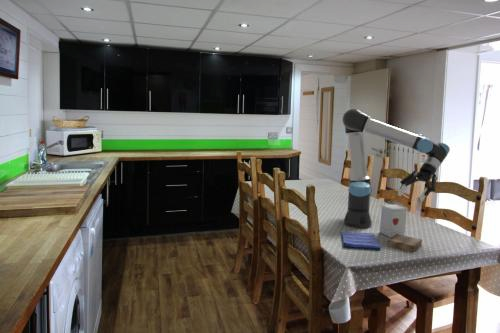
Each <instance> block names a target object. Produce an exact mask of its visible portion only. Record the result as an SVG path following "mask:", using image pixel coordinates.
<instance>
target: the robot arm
mask: <svg viewBox="0 0 500 333" xmlns="http://www.w3.org/2000/svg"><path fill="white" fill-rule="evenodd" d="M342 123H343V126H344V131H345V135H347V136H348V142H349V143H348V144H349V155H350V165H351V178H349V185H348V197H347V198H348V199H347V211H346V212H345V216H344V218H343V224H344V225H345V226H348V227H349V228H355V229H368V228H371V227H372V223H373V222H372V221H373V220H372V217H371V213H370V205H371V204H370V203H371V202H370V201H371V196H372V193H373V188H372V183H371V181H372V180H371V177H370V176H369V174H368V169H367V160H366V159H367V157H366V144H365V133H368V134H371V135H374V136H377V137H378V138H382V139H385V140H387V141H389V142H393V143H396V144H398V145H401V146H403V147H407V148H410V149H412V150H414V151H418V152H419V153H421V154H425V155H427V156H428V157H427V158H426V159H425V160H424V162H423V164H421V167H420V168H419V171H418V172H417V171H415V170H413V171H411V173H410V174H409V175H407V176H406V177H404V178H403V179H402V180H401V181H400V184H401V186H400V187H399V190H398V192H397V196H398V197H399V198H401V197H402V195H403V194H404V193H405V191H406V189H408V188H407V187H408V186H410V185H411V184H413V183H416V182H422V183H424V182H425V184H426V188H425V189H424V190H423V191H422V193H421V195H420V196H419V197H418V199H419V200H420V202H423V201H424V200H425V198H427V196H429V194H430V193H431V192H436V189H437V188H436V187H437V179H438V176H437V175H436V172H437V171H438V169H439V168H440V166H441V165H442V163H443V162H444V161H445V159H446V158H447V157H448V154H449V153H450V150H451V149H450V146H449V145H448V144H446V143H443V142H437V143H435V142H434V141H433V140H431V139H430V138H428V137H427V136H425V135H424V134H421V133H420V132H418V133H416V134H415V133H413V132H410V131H407V130H405V129H401V128H398V127H396V126H393V125H390V124H388V123H384V122H382V121H379V120H376V119H373V118H371V116H370V115H367V114H366V113H364V111H363V110H361V109H358V108H350V109H347V111H345V113H344V114H343V116H342ZM430 180H431V182H430Z"/></svg>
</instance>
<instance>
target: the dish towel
mask: <svg viewBox="0 0 500 333" xmlns="http://www.w3.org/2000/svg"><path fill="white" fill-rule="evenodd" d="M340 232H341V233H340V234H341V241H342V247H343V248H345V249H355V250H367V251H381V249H382V247H381V246H380V244H379V242H378V239H377V237H376V235H375V233H374V232H354V231H353V232H352V231H348V230H342V229H341V230H340Z"/></svg>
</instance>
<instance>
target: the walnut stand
mask: <svg viewBox="0 0 500 333" xmlns="http://www.w3.org/2000/svg"><path fill="white" fill-rule="evenodd" d="M422 241H423V239H422V238H418V237H417V238H416V237H412V236H408V235H405V234H404V235H399V234H396V235H394V236H393V237H389V239H387V247H390V248H395V249H399V250H404V251H407V252H411V253H415V252H416V251H417V250H419V248H420V247H422V244H423V242H422Z"/></svg>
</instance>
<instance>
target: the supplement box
mask: <svg viewBox="0 0 500 333" xmlns="http://www.w3.org/2000/svg"><path fill="white" fill-rule="evenodd" d="M380 211H381V212H380V213H381V214H380V223H379V224H380V225H379V226H380V227H379V233H381V234H383V235H384V236H387V237H388V238H392V237H393V236H394V235H396V234H399V235H404V236H405V235H406V234H405V232H406V224H407V223H406V222H407V211H408V210H407V207H405V206H401V205H399V204H394V203H393V204H382V205H381V210H380Z"/></svg>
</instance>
